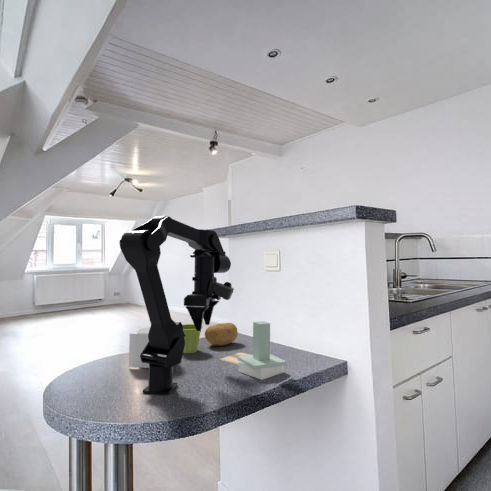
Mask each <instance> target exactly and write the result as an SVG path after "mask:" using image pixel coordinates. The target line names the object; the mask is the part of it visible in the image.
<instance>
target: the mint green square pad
mask: <svg viewBox="0 0 491 491" xmlns="http://www.w3.org/2000/svg"><path fill="white" fill-rule="evenodd" d="M244 355H251V354H249V353H244V352H237V353H234V354H231V355H228V356H225V357H222V358H219V359H218V360H219V361H223V362H226V363H230V364H234V365H237V366H239V362H240V361H239V360H237V359H238V356H244Z"/></svg>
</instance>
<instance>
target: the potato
mask: <svg viewBox="0 0 491 491" xmlns="http://www.w3.org/2000/svg"><path fill="white" fill-rule="evenodd" d="M204 337H205V339H206V341H207V342H208V343H209V344H210V345H212V346H214V347H221V346H226V345H229V344H231V343H233V342H234V341H235V340H236V339H237V337H238V328H237V326H236V324H234V323H232V322H223V323H216V324H214V325H209V326H208V327H207V328H206V329H205V331H204Z"/></svg>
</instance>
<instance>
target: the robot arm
mask: <svg viewBox="0 0 491 491" xmlns="http://www.w3.org/2000/svg"><path fill="white" fill-rule="evenodd" d="M168 237H170V238H174V239H176V240H180V241H182V242H186V244H188V246H189V247H190V248H192V249H194V251H193V252H192V253H191V254H189V255H190V256H189V257H190V258H194V274H193V275H194V276H192V277H191V279H192V281H194V282H193V291H191V293H190V294H187V295H185V297H184V298H183V306H185V308H186V309H187V312H188V314H189V316H190V318H191V320H192V324H194V325H195V327H196V330H197V331H201V332H202V329H203V327H202V326H203V322H204V324H205V325H206V326H210V324H211V319H212V315H213V312H214V309H215V306H216V305H217V304H218V303H220V300H221V299H223V300H225V301H228V300H230V299H231V297H232V295H233V293H234V290H235V288H234V287H232V283H231V282H230V281H229V282H228V281H226V282H224V283H220V282H217V281H218V280H217V279H218V278H217V277H216V276H215V274H224V273H227V272H229V271H230V268H231V266H232V262H231V259H230V258H229V257H228V256H227V255H226V254H227V253H226V251H224V249H223V245H222V243H221V240H220V238H219V235H218V232H216V231H215V230H211V229H198V228H195V227H194V226H191V225H188V224H187V223H183V222H181V221H179V220H176V219H173V218H172V217H171V216H169V215H157V216H153V217H152V218H150V219H149V220H148V221H146V222H144V223H142V224H140V225H139V226H137V227H135V228H132V230H128V231H126V232H124V233H123V234H122V236H121V238H120V239H119V248H120V251H121V254H122V255H123V257H124V259H125V261H126V262H127V263H128V264H129V265H130V267H131V268H132V269H133V270H134V271H135V273H136V276H137V279H138V283H139V284H138V285H139V287H140V290H141V291H140V292H141V295H142V298H143V301H144V304H145V308H146V312H147V315H148V316H147V317H148V319H149V322H150V327H149V328H150V330H149V333H148V340H149V342H148V344H147V345H146V347H145V348H144V350H143V351H142V353H141V354H140V358H141V362H142V363H148V364H149V368H148V385H147V386H145V388H144V389H142V393H144V394H146V393H147V394H156V395H157V394H158V395H170V394H171V393H172V392H173V391H174V389H175V388H176V387H178V382H173V379H174V367H175V366H177V365H180V364H181V363H182V359H183V355H184V353H183V351H184V347H185V339H184V337H185V336H186V335H185V334H184V332H183V326H182V325H183V324H182V322H181V321H176V320H175V321H174V320H173V319H172V317H171V312H170V308H169V304H168V302H167V297H166V294H165V289H164V285H163V283H162V282H163V281H162V277H161V275H160V271H159V268H158V266H159V265H158V263H159V260H160V257H161V246H162V245H163V244H164V243H165V242H166V241H167V238H168ZM203 320H204V321H203ZM201 328H202V329H201ZM158 354H161V355H166V357H161V356H157V355H158Z"/></svg>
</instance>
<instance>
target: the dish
mask: <svg viewBox="0 0 491 491" xmlns="http://www.w3.org/2000/svg"><path fill="white" fill-rule="evenodd" d="M238 373H242V374H244V375H247V376H250V377H253V378H255V379H258V380H261V381H263V380H266V379H268V378H271V377H275V376H277V375H281V374H284V373H285V365H283V366H277V367H270V368H264V369H257V370H253V369H252V368H250V367H248V366H247V365H245V364H243V363H242V362H239V365H238Z"/></svg>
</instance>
